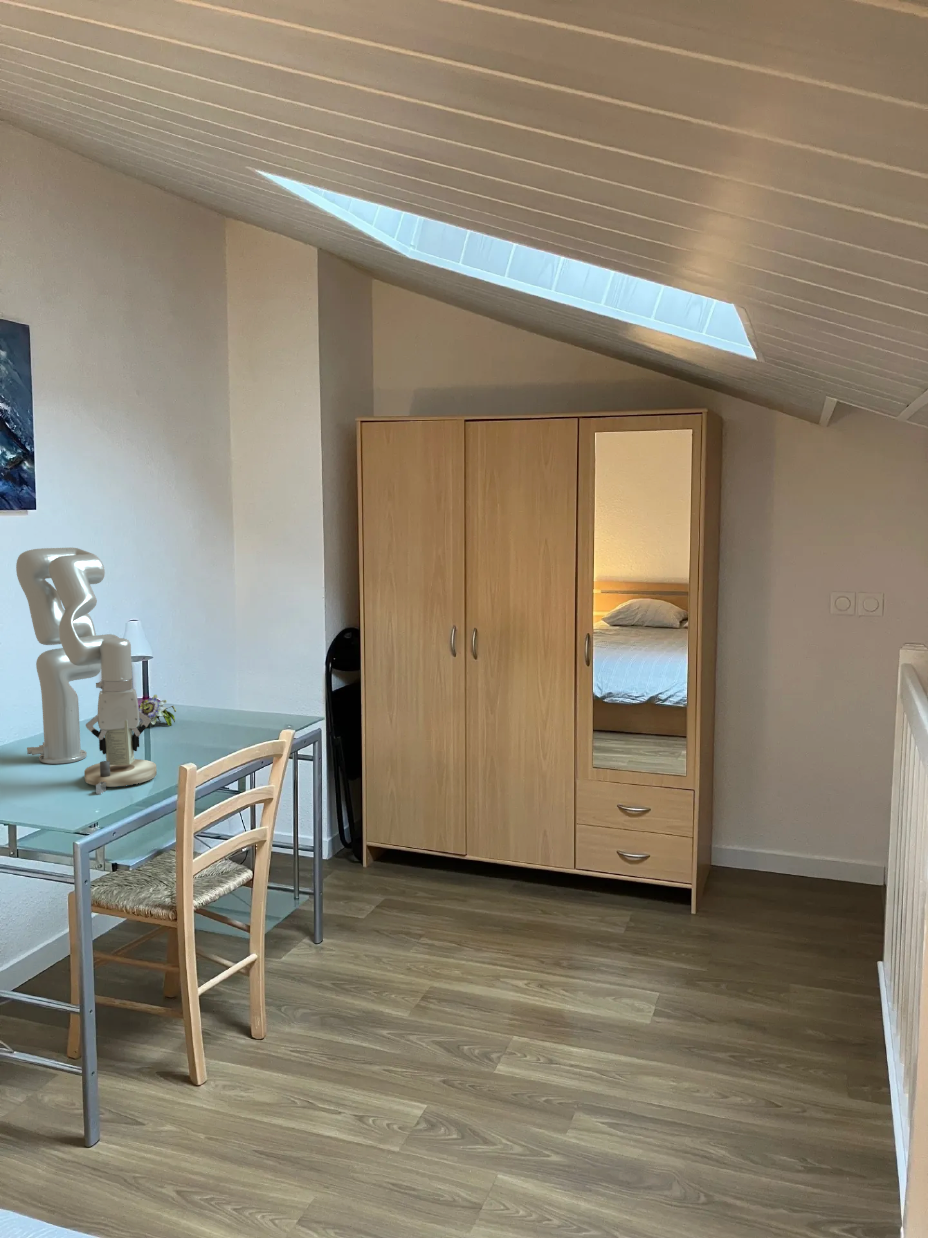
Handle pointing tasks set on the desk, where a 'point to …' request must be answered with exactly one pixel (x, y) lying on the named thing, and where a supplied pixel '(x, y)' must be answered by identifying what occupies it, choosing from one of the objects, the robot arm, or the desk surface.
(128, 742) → the skincare box
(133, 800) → the desk surface
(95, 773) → the turntable
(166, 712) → the passion flower
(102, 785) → the grey small block
